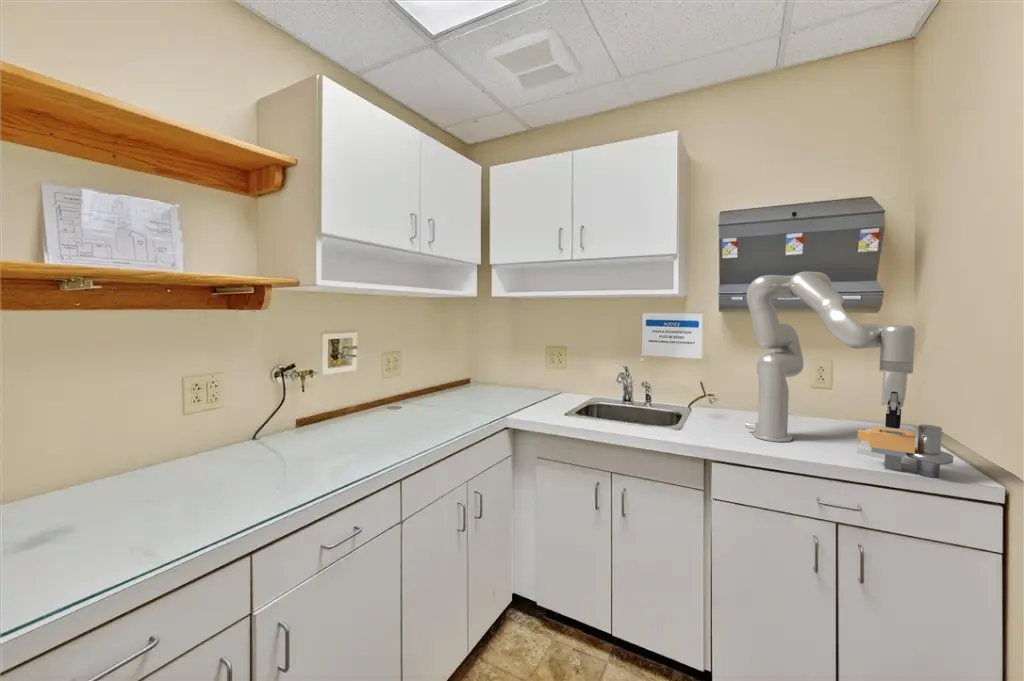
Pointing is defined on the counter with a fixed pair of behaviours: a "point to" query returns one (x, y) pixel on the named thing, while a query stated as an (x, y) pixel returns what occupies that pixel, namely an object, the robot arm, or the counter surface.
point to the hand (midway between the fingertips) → (893, 424)
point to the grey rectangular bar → (893, 458)
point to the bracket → (889, 439)
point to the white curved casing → (866, 450)
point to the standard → (925, 452)
